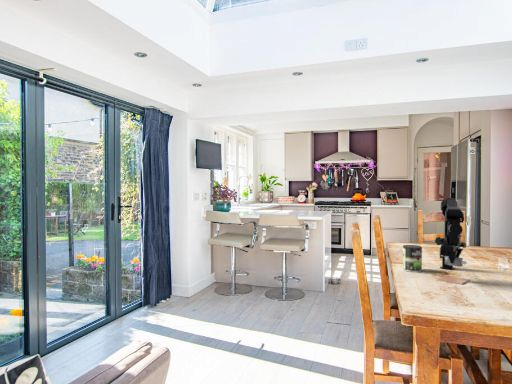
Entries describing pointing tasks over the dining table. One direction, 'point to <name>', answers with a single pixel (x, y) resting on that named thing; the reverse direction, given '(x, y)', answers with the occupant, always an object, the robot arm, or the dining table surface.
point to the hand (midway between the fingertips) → (453, 262)
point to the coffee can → (412, 258)
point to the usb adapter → (455, 261)
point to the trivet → (453, 279)
